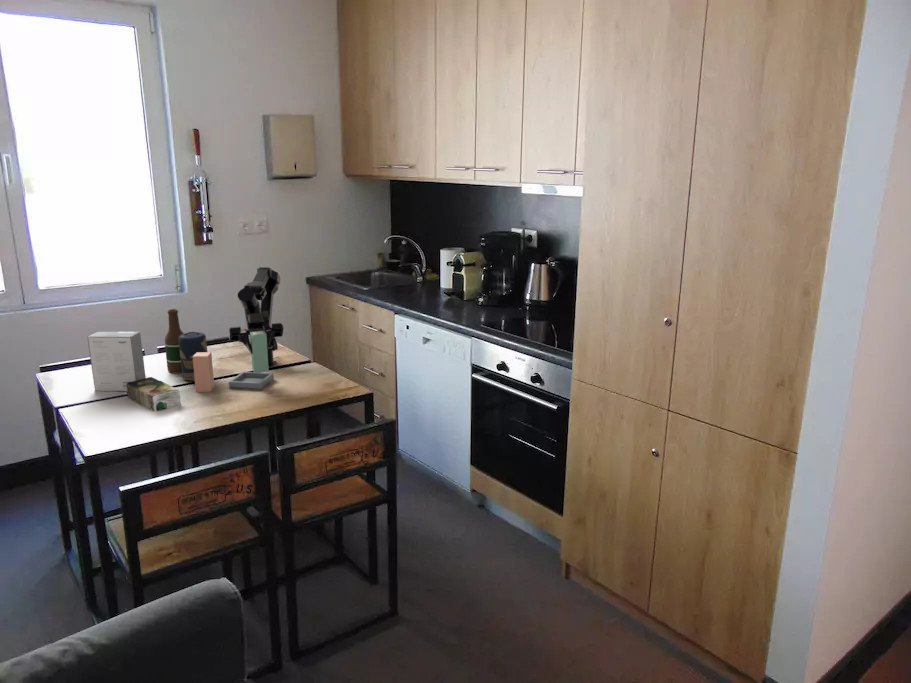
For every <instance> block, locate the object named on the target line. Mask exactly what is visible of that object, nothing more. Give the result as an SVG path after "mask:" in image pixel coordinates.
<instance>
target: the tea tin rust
mask: <svg viewBox="0 0 911 683" xmlns="http://www.w3.org/2000/svg"><path fill="white" fill-rule="evenodd" d="M193 366H194V377H195V381H194V386H195V393H196V392H199V393H200V392H201V393H203V392H204V393H205V392H207V393H208V392H209V393H210V392H212V390H214V388H215V380H214V370H213V369H214V368H213V367H214V366H213V356H212V351H207V352H197V353H196V354H195V355H194V356H193Z"/></svg>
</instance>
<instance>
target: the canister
mask: <svg viewBox="0 0 911 683" xmlns="http://www.w3.org/2000/svg"><path fill="white" fill-rule="evenodd" d="M207 343H208V342H207V335H206V334H205V333H204V332H200V331H189V332H185V333H184V334H182V335H180V336H179V348H180V357H181V367H182V373H181V374H182V378H183V380H185V381H189V382H195V377H194V366H193V356H194V355H195V354H196V353H197V352H208V346H207Z"/></svg>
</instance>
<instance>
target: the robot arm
mask: <svg viewBox="0 0 911 683" xmlns="http://www.w3.org/2000/svg"><path fill="white" fill-rule="evenodd" d="M279 285H281V276H280V274H279V273H278V272H277V271H275V270H273V269H272V268H271V267H269V266H266V267H265V266H264V267H263V266H262V267H261V266H259V267H257V270H256V274H255V276H254V278H253V279H252V281H250V282H247V283H246V284H245V285H244V286H243V288H242V289H240V290H239V291H238V292H237V299H238V300H239V302H240V305H241V307H242V308H243V310H244V316H245V323H246V328H242V327H241V326H231V327H229V328H228V339H229V342H239V343H241V344H243V345H244V347H246V348H247V350H248V352H249V353H250V355H251V354H252V353H253V352H252V347H251V341H250V332H253V331H265V333H266V336H267V353H268V367H273V366H274V365H275V364H276V363H277V362H278V361H277V360H274V351H277V350H278V348H279V347H278V341H277V339H276V338H279V337H283V335H284V325H283V324H282V323H281V322H278V323H277V322H276V323H272V316H273V305H274V296H275V294H276V292H277V291H278V290H279ZM259 301H261V302H259Z"/></svg>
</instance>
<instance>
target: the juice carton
mask: <svg viewBox="0 0 911 683" xmlns="http://www.w3.org/2000/svg"><path fill="white" fill-rule="evenodd" d="M126 393H127V398H128V399H131V400H132V401H134V402H136V403H138V404H140V405H141V406H144V407H146V408H148V409H150V410H152V411H153V412H157V411H160V410H162V409H169V408H172V407H175V406H179V405H181V404H182V403H181V394H180V389H178V388H177V387H174V386H172V385H170V384H168V383H166V382H164V381H162V380H159V379H156V378H155V377H152V376H150V377H146V378H144V379H141V380H137V381H133V382H128V383H127V391H126Z"/></svg>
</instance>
